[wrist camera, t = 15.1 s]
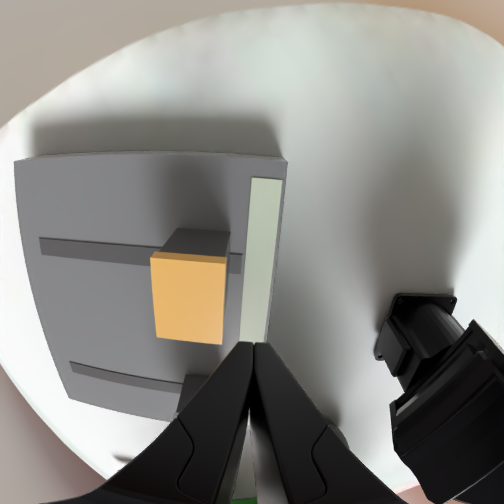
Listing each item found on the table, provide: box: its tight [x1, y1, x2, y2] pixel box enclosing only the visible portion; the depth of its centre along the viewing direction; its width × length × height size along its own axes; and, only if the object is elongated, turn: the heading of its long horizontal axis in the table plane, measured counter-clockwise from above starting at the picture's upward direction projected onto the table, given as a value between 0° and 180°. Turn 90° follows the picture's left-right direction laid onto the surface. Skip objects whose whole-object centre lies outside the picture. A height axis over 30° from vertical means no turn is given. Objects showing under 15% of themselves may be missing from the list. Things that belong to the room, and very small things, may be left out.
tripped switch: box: [150, 228, 231, 345], centre depth 15 cm, size 3×4×4 cm
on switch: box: [172, 374, 209, 421], centre depth 20 cm, size 3×4×4 cm
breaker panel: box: [14, 151, 288, 430], centre depth 21 cm, size 18×22×3 cm
